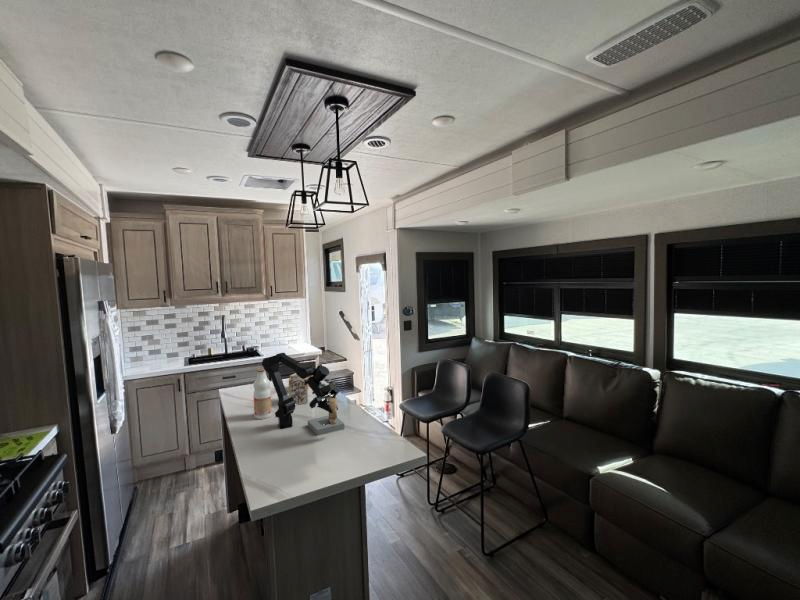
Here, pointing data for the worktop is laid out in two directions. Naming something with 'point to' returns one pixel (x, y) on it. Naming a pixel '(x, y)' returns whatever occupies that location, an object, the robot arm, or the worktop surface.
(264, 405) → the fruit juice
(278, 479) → the worktop surface
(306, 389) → the decorative jar
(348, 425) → the worktop surface
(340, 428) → the charcoal socket board
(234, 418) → the worktop surface
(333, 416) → the oak peg
